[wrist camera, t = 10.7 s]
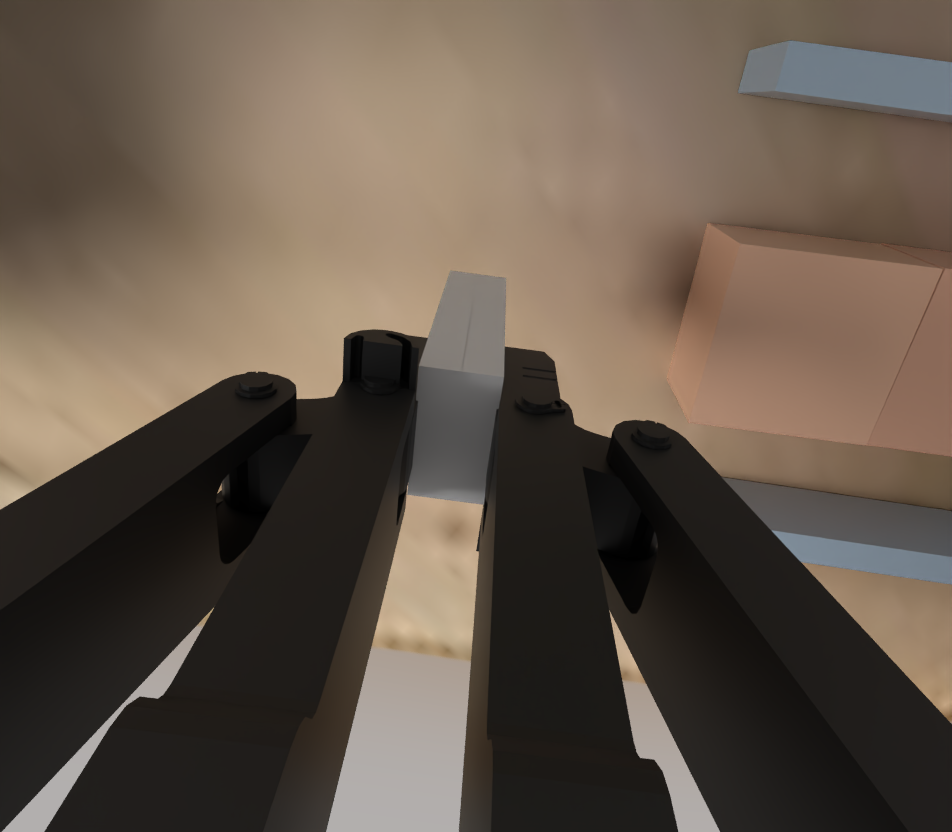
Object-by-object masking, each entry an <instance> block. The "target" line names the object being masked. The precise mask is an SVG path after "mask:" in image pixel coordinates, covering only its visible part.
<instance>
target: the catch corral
mask: <svg viewBox="0 0 952 832" xmlns="http://www.w3.org/2000/svg"><path fill="white" fill-rule="evenodd" d="M738 93H741V94H748V95H756V96H763V97H770V98H777V99H785V100H792V101H799V102H806V103H814V104H821V105H828V106H835V107H843V108H850V109H857V110H864V111H872V112H879V113H886V114H893V115H901V116H908V117H915V118H922V119H930V120H937V121H944V122H951V123H952V62H946V61H938V60H931V59H924V58H916V57H909V56H902V55H894V54H887V53H880V52H872V51H865V50H858V49H850V48H843V47H836V46H828V45H821V44H814V43H806V42H799V41H792V40H789V41H785V42H781V43H777V44H773V45H769V46H765V47H761V48H757V49H753V50H749V54H748V57H747V61H746V65H745V68H744V72H743V76H742V79H741V83H740V87H739V90H738ZM722 478H723V479H724V480H725V481H726V482H727V483H728V485H729V486H730V487H731V488H732V489H733V490H734V491H735V492H736V493H737V494H738V495H739V496H740V497H741V499H742V500H743V501H744V502H745V503H746V504H747V505H748V506H749V507H750V508H751V509H752V510H753V511H754V512H755V514H756V515H757V516H758V517H759V518H760V519H761V520H762V521H763V522H764V523H765V524H766V525H767V526H768V527H769V529H770V530H771V531H772V532H773V533H774V534H775V535H776V536H777V537H778V538H779V539H780V540H781V541H782V543H783V544H784V545H785V546H786V547H787V548H788V549H789V550H790V551H791V552H792V553H793V554H794V555H795V556H796V558H797V559H798V560H799V561H800V562H804V563H811V564H818V565H824V566H831V567H838V568H845V569H851V570H858V571H865V572H871V573H878V574H885V575H891V576H898V577H905V578H912V579H918V580H925V581H932V582H938V583H945V584H952V511H948V510H941V509H935V508H928V507H921V506H914V505H908V504H901V503H894V502H887V501H880V500H874V499H867V498H860V497H853V496H846V495H840V494H833V493H826V492H819V491H813V490H806V489H799V488H792V487H785V486H779V485H772V484H765V483H758V482H751V481H745V480H738V479H731V478H724V477H722Z"/></svg>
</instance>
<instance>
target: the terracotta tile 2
mask: <svg viewBox="0 0 952 832" xmlns="http://www.w3.org/2000/svg"><path fill="white" fill-rule="evenodd" d="M881 245H884V246H886V247H889V248H891V249H894V250H896V251H899V252H901V253H904V254H907V255H909V256H912V257H914V258H917V259H919V260H922V261H924V262H927V263H930V264H932V265H935V266H937V267H940V268H942V269H943V271H942V273H941V275H940V278H939V280H938V282H937V284H936V287H935V289H934V291H933V294H932V296H931V298H930V301H929V303H928V305H927V307H926V310H925V312H924V314H923V317H922V319H921V321H920V324H919V326H918V328H917V330H916V333H915V335H914V337H913V340H912V342H911V344H910V347H909V349H908V351H907V353H906V356H905V358H904V360H903V363H902V365H901V367H900V370H899V372H898V374H897V376H896V379H895V381H894V383H893V386H892V388H891V390H890V392H889V395H888V397H887V399H886V402H885V404H884V406H883V409H882V411H881V413H880V415H879V418H878V420H877V422H876V425H875V427H874V429H873V432H872V434H871V436H870V438H869V441H868V443H867V445H870V446H877V447H884V448H892V449H899V450H906V451H914V452H921V453H928V454H936V455H943V456H950V457H952V252H947V251H939V250H931V249H924V248H916V247H908V246H900V245H893V244H885V243H881Z"/></svg>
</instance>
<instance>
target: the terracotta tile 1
mask: <svg viewBox="0 0 952 832" xmlns="http://www.w3.org/2000/svg"><path fill="white" fill-rule="evenodd" d="M942 271H943V269H942V268H940V267H937V266H935V265H932V264H930V263H927V262H924V261H922V260H919V259H917V258H914V257H912V256H909V255H907V254H904V253H901V252H899V251H896V250H894V249H891V248H889V247H886V246H884V245H881V244H876V243H868V242H860V241H852V240H844V239H835V238H827V237H819V236H811V235H803V234H795V233H787V232H779V231H771V230H763V229H755V228H747V227H739V226H731V225H722V224H714V223H708V224H707V228H706V231H705V235H704V239H703V243H702V247H701V250H700V254H699V258H698V262H697V266H696V269H695V273H694V277H693V281H692V285H691V289H690V292H689V296H688V300H687V304H686V308H685V311H684V315H683V319H682V323H681V327H680V330H679V334H678V338H677V342H676V346H675V350H674V353H673V357H672V361H671V365H670V369H669V372H668V376H667V381H668V383H669V385H670V387H671V389H672V391H673V393H674V395H675V397H676V399H677V401H678V403H679V405H680V407H681V409H682V411H683V412H684V414H685V416H686V418H687V420H688V422H689V423H695V424H703V425H710V426H718V427H726V428H734V429H741V430H749V431H757V432H765V433H772V434H780V435H788V436H795V437H803V438H811V439H819V440H826V441H834V442H842V443H850V444H857V445H865V446H866V445H867V443H868V441H869V438H870V436H871V434H872V432H873V429H874V427H875V425H876V422H877V420H878V418H879V415H880V413H881V411H882V409H883V406H884V404H885V402H886V399H887V397H888V395H889V392H890V390H891V388H892V386H893V383H894V381H895V379H896V376H897V374H898V372H899V370H900V367H901V365H902V363H903V360H904V358H905V356H906V353H907V351H908V349H909V347H910V344H911V342H912V340H913V337H914V335H915V333H916V330H917V328H918V326H919V324H920V321H921V319H922V317H923V314H924V312H925V310H926V307H927V305H928V303H929V301H930V298H931V296H932V294H933V291H934V289H935V287H936V284H937V282H938V280H939V278H940V275H941V273H942Z"/></svg>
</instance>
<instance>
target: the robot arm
mask: <svg viewBox="0 0 952 832" xmlns="http://www.w3.org/2000/svg"><path fill="white" fill-rule="evenodd" d="M505 308H506V278H503V277H495V276H488V275H480V274H473V273H465V272H458V271H451V270H450V273H449V276H448V279H447V282H446V285H445V288H444V291H443V294H442V297H441V300H440V303H439V306H438V309H437V312H436V315H435V318H434V321H433V324H432V328H431V331H430V334H429V337H428V338H424V337H416V336H409V335H405V334H402V333H398V332H393V331H388V330H362V331H358V332H354V333H351V334H349V335H348V336H346V337H345V338H344V356H343V382H342V383H341V385H340V387H339V389H338V390H337V392H336V394H335V396H333V397H328V398H319V399H296V385H295V384H294V383H293V382H291V381H290V380H289V379H287V378H284V377H282V376H279V375H274V374H268V373H267V372H258V373H256V372H247V373H245V374H241V375H235V376H232V377H229V378H227V379H224V380H222V381H220V382H219V383H217V384H215V385H214V386H212V387H210V388H208V389H207V390H205V391H203V392H202V393H200V394H198V395H196V396H195V397H193V398H191V399H190V400H188V401H186V402H184V403H183V404H181V405H179V406H178V407H176V408H174V409H172V410H171V411H169V412H167V413H166V414H164V415H162V416H160V417H159V418H157V419H155V420H153V421H152V422H150V423H148V424H147V425H145V426H143V427H141V428H140V429H138V430H136V431H135V432H133V433H131V434H129V435H128V436H126V437H124V438H123V439H121V440H119V441H117V442H116V443H114V444H112V445H111V446H109V447H107V448H105V449H104V450H102V451H100V452H99V453H97V454H95V455H93V456H92V457H90V458H88V459H87V460H85V461H83V462H81V463H80V464H78V465H76V466H75V467H73V468H71V469H69V470H68V471H66V472H64V473H63V474H61V475H59V476H57V477H56V478H54V479H52V480H51V481H49V482H47V483H45V484H44V485H42V486H40V487H39V488H37V489H35V490H33V491H32V492H30V493H28V494H26V495H25V496H23V497H21V498H20V499H18V500H16V501H14V502H13V503H11V504H9V505H8V506H6V507H4V508H2V509H1V510H0V832H2V831H3V830H4V829H5V827H6V826H7V825H8V824H9V823H10V822H11V821H12V820H13V819H14V818H15V817H16V816H17V815H18V814H19V813H20V811H22V810H23V808H24V807H25V806H26V805H27V804H28V803H29V802H30V801H31V800H32V799H33V798H34V797H35V796H36V795H37V794H38V792H40V791H41V789H42V788H43V787H44V786H45V785H46V784H47V783H48V782H49V781H50V780H51V779H52V778H53V777H54V776H55V775H56V774H57V772H58V771H59V770H60V769H61V768H62V767H63V766H64V765H65V764H66V763H67V762H68V761H69V760H70V759H71V758H72V757H73V756H74V755H75V754H76V752H77V751H78V750H79V749H80V748H81V747H82V746H83V745H84V744H85V743H86V742H87V741H88V740H89V738H91V737H92V736H93V734H94V733H95V732H96V731H97V730H98V729H99V728H100V727H101V726H102V725H103V724H104V723H105V721H107V720H108V718H110V716H111V715H112V714H113V713H114V712H115V711H116V710H117V709H118V708H119V707H120V706H121V705H122V703H124V702H125V700H127V699H128V697H129V696H130V695H131V694H132V693H133V692H134V691H135V690H136V689H137V688H138V687H139V686H140V685H141V684H142V683H143V682H144V681H145V679H146V678H147V677H148V676H149V675H150V674H151V673H152V672H153V671H154V670H155V669H156V668H157V667H158V666H159V665H160V664H161V662H162V661H163V660H164V659H165V658H166V657H167V656H168V655H169V654H170V653H171V652H172V651H173V650H174V649H175V648H176V647H177V646H178V645H179V644H180V642H181V641H182V640H183V639H184V638H185V637H186V636H187V635H188V634H189V633H190V632H191V631H192V630H193V629H194V628H195V627H196V626H197V625H198V623H199V622H200V621H201V620H202V619H203V618H204V617H205V616H206V615H207V614H208V613H209V612H210V611H211V610H212V609H213V608H214V609H213V611H212V613H211V614H210V616H209V618H208V620H207V621H206V623H205V625H204V627H203V629H202V630H201V632H200V634H199V636H198V637H197V639H196V641H195V643H194V644H193V646H192V648H191V650H190V651H189V653H188V655H187V657H186V658H185V660H184V662H183V664H182V666H181V668H180V669H179V671H178V673H177V674H176V676H175V678H174V680H173V681H172V683H171V685H170V686H169V688H168V689H167V691H166V692H165V693H164V695H163V696H161V697H160V698H158V699H155V698H147V697H139V698H137V699H136V700H134V701H133V702H131V703H130V704H128V705H127V706H126V707H125V708H124V709H123V711H122V712H121V713H120V714H119V716H118V717H117V719H116V720H115V721H114V722H113V724H112V725H111V726H110V728H109V729H108V731H107V733H106V734H105V736H104V737H103V739H102V740H101V742H100V744H99V745H98V747H97V749H96V750H95V752H94V753H93V755H92V757H91V758H90V760H89V761H88V763H87V765H86V766H85V768H84V769H83V771H82V773H81V774H80V776H79V777H78V779H77V781H76V782H75V784H74V785H73V787H72V789H71V790H70V792H69V793H68V795H67V797H66V798H65V800H64V801H63V803H62V805H61V806H60V808H59V809H58V811H57V813H56V814H55V816H54V817H53V819H52V821H51V822H50V824H49V825H48V827H47V829H46V830H45V832H326V829H327V825H328V821H329V817H330V813H331V808H332V805H333V801H334V797H335V792H336V789H337V785H338V781H339V776H340V772H341V768H342V764H343V760H344V756H345V752H346V748H347V744H348V740H349V735H350V731H351V728H352V723H353V719H354V715H355V711H356V707H357V703H358V699H359V695H360V691H361V687H362V683H363V679H364V675H365V670H366V666H367V662H368V658H369V654H370V650H371V646H372V642H373V638H374V634H375V630H376V626H377V622H378V618H379V614H380V609H381V605H382V601H383V597H384V593H385V589H386V585H387V581H388V577H389V573H390V569H391V565H392V561H393V557H394V552H395V548H396V544H397V540H398V536H399V532H400V528H401V524H402V520H403V516H404V512H405V504H406V493H407V485H408V494H407V495H414V496H421V497H429V498H437V499H444V500H452V501H460V502H468V503H475V504H483V512H482V518H481V525H480V531H479V537H478V544H477V550H476V551H479V559H478V573H477V587H476V601H475V615H474V629H473V643H472V656H471V670H470V684H469V699H468V713H467V726H466V741H465V754H464V768H463V783H462V797H461V809H460V824H459V832H678V829H677V824H676V820H675V815H674V811H673V806H672V802H671V797H670V794H669V791H668V787H667V784H666V781H665V778H664V775H663V772H662V770H661V769H660V767H659V766H658V765H657V763H656V762H655V760H652V759H643V758H640V757H639V756H638V754H637V752H636V749H635V745H634V742H633V736H632V731H631V726H630V720H629V715H628V709H627V704H626V698H625V693H624V688H623V682H622V677H621V672H620V666H619V661H618V655H617V650H616V645H615V639H614V634H613V628H612V623H611V618H610V612H611V614H612V616H613V618H614V620H615V622H616V624H617V626H618V628H619V630H620V632H621V634H622V636H623V638H624V640H625V642H626V644H627V646H628V648H629V650H630V652H631V654H632V656H633V658H634V660H635V662H636V664H637V666H638V668H639V670H640V672H641V674H642V676H643V678H644V680H645V682H646V684H647V686H648V688H649V690H650V692H651V694H652V696H653V698H654V700H655V702H656V704H657V706H658V708H659V710H660V712H661V714H662V716H663V718H664V720H665V722H666V724H667V726H668V728H669V730H670V732H671V734H672V736H673V738H674V740H675V742H676V744H677V746H678V748H679V750H680V752H681V754H682V756H683V758H684V760H685V762H686V764H687V766H688V768H689V770H690V772H691V774H692V776H693V778H694V780H695V782H696V784H697V786H698V788H699V790H700V792H701V794H702V796H703V798H704V800H705V802H706V804H707V806H708V808H709V810H710V812H711V814H712V816H713V818H714V820H715V822H716V824H717V826H718V828H719V830H720V832H952V724H951V723H950V722H949V721H948V720H947V719H946V718H945V716H944V715H943V714H942V713H941V712H940V711H939V710H938V709H937V708H936V707H935V706H934V705H933V704H932V702H931V701H930V700H929V699H928V698H927V697H926V696H925V695H924V694H923V693H922V692H921V691H920V690H919V689H918V687H917V686H916V685H915V684H914V683H913V682H912V681H911V680H910V679H909V678H908V677H907V676H906V675H905V674H904V672H903V671H902V670H901V669H900V668H899V667H898V666H897V665H896V664H895V663H894V662H893V661H892V660H891V658H890V657H889V656H888V655H887V654H886V653H885V652H884V651H883V650H882V649H881V648H880V647H879V646H878V645H877V643H876V642H875V641H874V640H873V639H872V638H871V637H870V636H869V635H868V634H867V633H866V632H865V631H864V629H863V628H862V627H861V626H860V625H859V624H858V623H857V622H856V621H855V620H854V619H853V618H852V617H851V616H850V614H849V613H848V612H847V611H846V610H845V609H844V608H843V607H842V606H841V605H840V604H839V603H838V602H837V601H836V599H835V598H834V597H833V596H832V595H831V594H830V593H829V592H828V591H827V590H826V589H825V588H824V587H823V585H822V584H821V583H820V582H819V581H818V580H817V579H816V578H815V577H814V576H813V575H812V574H811V573H810V572H809V570H808V569H807V568H806V567H805V566H804V565H803V564H802V563H801V562H800V561H799V560H798V559H797V558H796V556H795V555H794V554H793V553H792V552H791V551H790V550H789V549H788V548H787V547H786V546H785V545H784V544H783V543H782V541H781V540H780V539H779V538H778V537H777V536H776V535H775V534H774V533H773V532H772V531H771V530H770V529H769V527H768V526H767V525H766V524H765V523H764V522H763V521H762V520H761V519H760V518H759V517H758V516H757V515H756V514H755V512H754V511H753V510H752V509H751V508H750V507H749V506H748V505H747V504H746V503H745V502H744V501H743V500H742V499H741V497H740V496H739V495H738V494H737V493H736V492H735V491H734V490H733V489H732V488H731V487H730V486H729V485H728V483H727V482H726V481H725V480H724V479H723V478H722V477H721V476H720V475H719V474H718V473H717V472H716V471H715V470H714V468H713V467H712V466H711V465H710V464H709V463H708V462H707V461H706V460H705V459H704V458H703V457H702V456H701V454H700V453H699V452H698V451H697V450H696V449H695V448H694V447H693V446H692V445H691V444H690V443H689V442H688V441H687V439H685V438H684V437H683V436H682V435H680V434H679V433H678V432H676V431H674V430H672V429H670V428H668V427H666V426H665V425H664V424H661V423H658V422H657V424H656V423H655V422H654V421H649V420H646V421H639V420H632V421H623V422H621V423H619V424H617V425H616V426H615V428H614V430H613V432H612V436H611V438H608V437H605V436H602V435H598V434H595V433H592V432H590V431H587V430H584V429H582V428H580V427H578V426H576V425H575V424H574V419H573V413H572V410H571V408H570V407H569V405H568V404H567V403H566V402H564V401H563V400H561V399H560V393H559V387H558V381H557V375H556V368H555V362H554V361H553V360H552V359H551V358H550V357H549V356H548V355H547V354H546V353H545V352H542V351H534V350H527V349H519V348H511V347H505ZM408 482H409V483H408ZM221 484H222V490H221V491H220V492H219V493H218V494H217V492H218V490H219V488H220V485H221ZM215 605H216V606H215ZM609 610H610V612H609Z"/></svg>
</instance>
